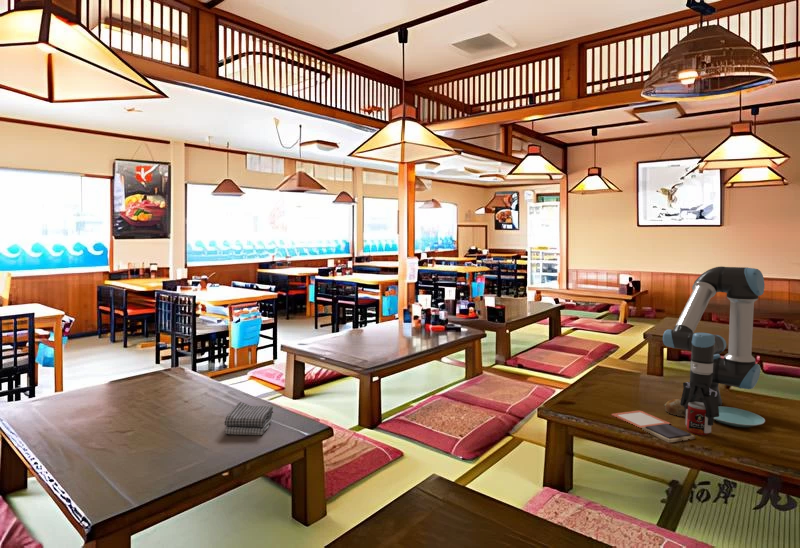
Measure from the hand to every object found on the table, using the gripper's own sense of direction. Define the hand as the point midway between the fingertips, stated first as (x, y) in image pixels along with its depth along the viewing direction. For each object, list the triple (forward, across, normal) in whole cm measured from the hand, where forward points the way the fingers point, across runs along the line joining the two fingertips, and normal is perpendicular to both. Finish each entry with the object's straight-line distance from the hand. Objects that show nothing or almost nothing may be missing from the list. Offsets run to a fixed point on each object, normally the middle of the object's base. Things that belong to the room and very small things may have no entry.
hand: (697, 428), depth 194 cm
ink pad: (+1, -2, -14) cm, 14 cm away
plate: (+2, -5, +26) cm, 27 cm away
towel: (+2, -55, -169) cm, 177 cm away
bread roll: (+2, -19, +11) cm, 22 cm away
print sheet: (+1, -17, -12) cm, 21 cm away
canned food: (+1, 0, 0) cm, 1 cm away
